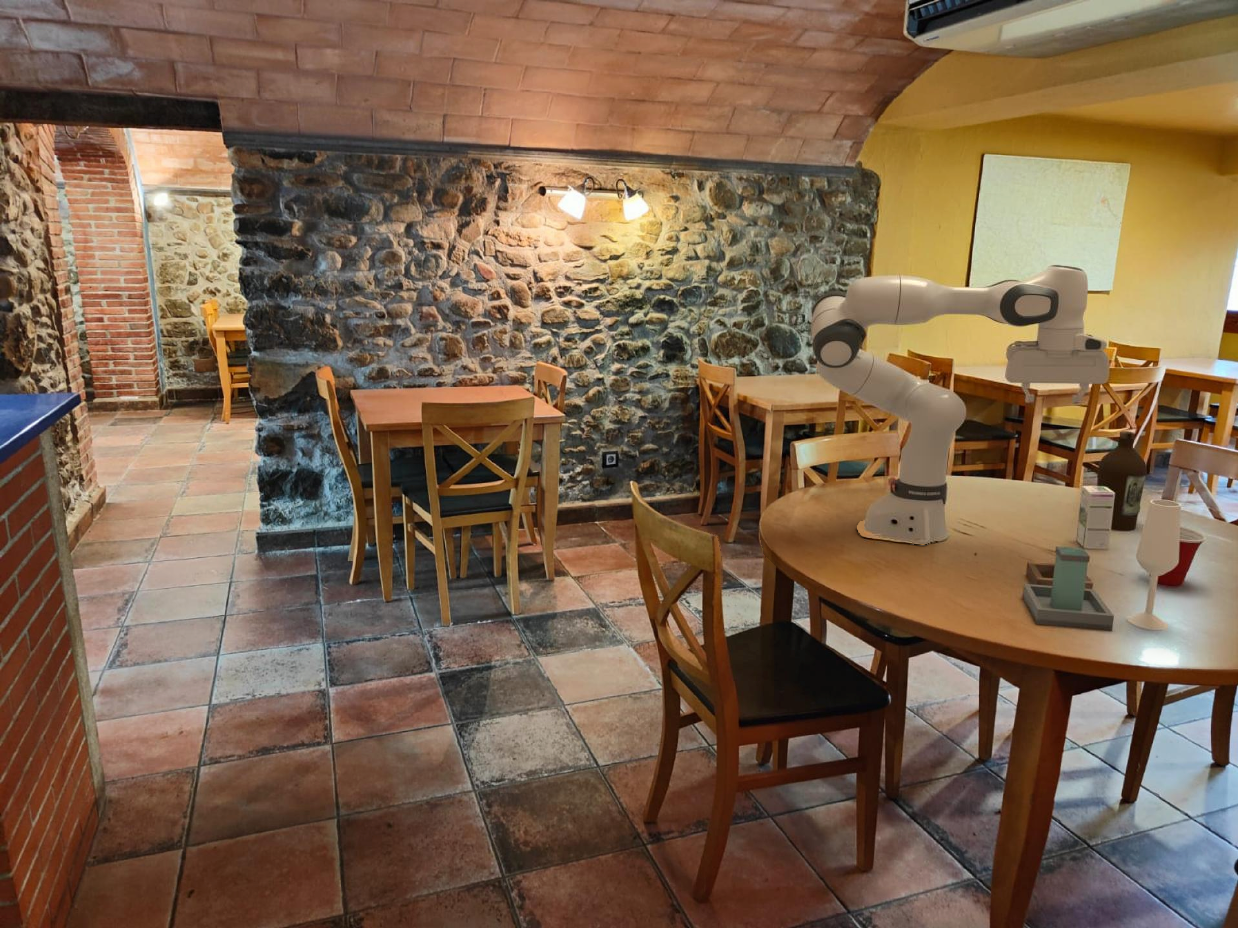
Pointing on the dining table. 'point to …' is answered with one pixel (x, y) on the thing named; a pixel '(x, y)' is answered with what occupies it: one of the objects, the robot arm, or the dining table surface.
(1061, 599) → the pin
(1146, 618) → the champagne flute
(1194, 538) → the plastic cup
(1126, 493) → the olive oil
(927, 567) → the dining table surface
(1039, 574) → the walnut collar
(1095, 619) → the grey tray
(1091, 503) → the syrup box
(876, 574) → the dining table surface
